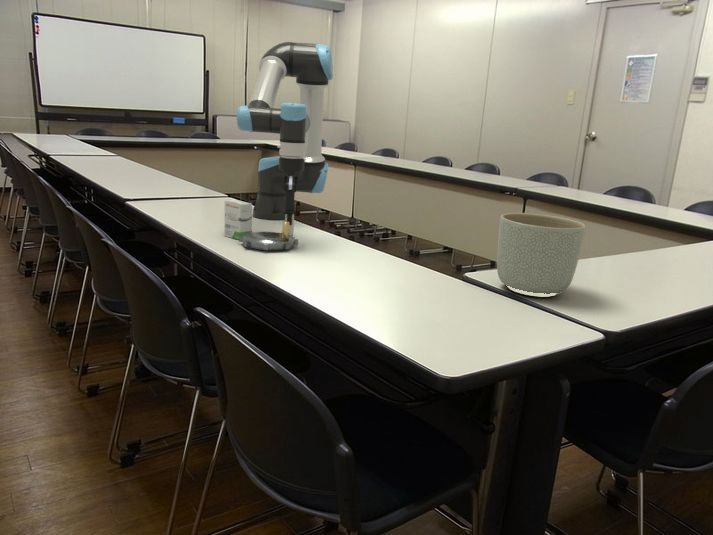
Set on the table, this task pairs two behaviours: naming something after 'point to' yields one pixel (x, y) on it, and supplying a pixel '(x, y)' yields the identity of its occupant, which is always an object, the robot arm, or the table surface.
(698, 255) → the table surface
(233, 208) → the ink box
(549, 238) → the planter
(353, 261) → the table surface
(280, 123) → the robot arm
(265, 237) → the sprocket
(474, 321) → the table surface
